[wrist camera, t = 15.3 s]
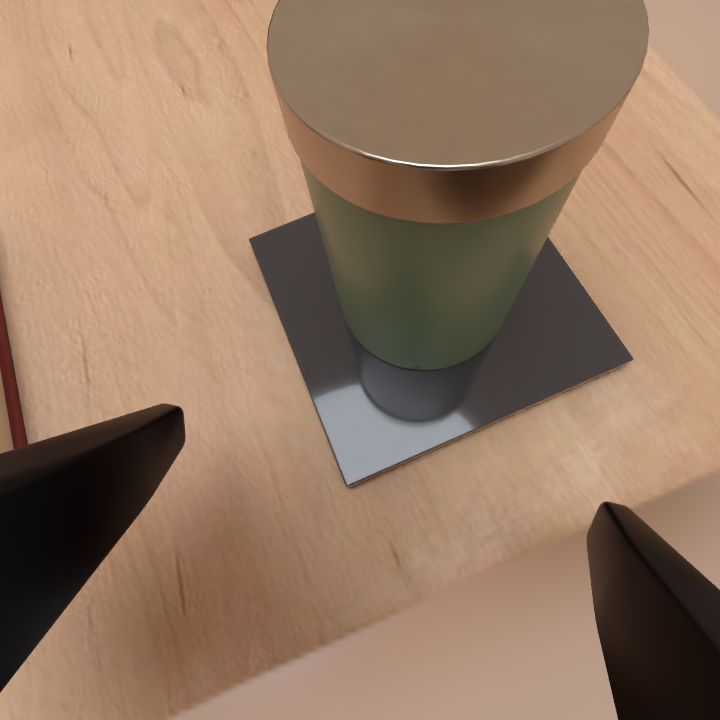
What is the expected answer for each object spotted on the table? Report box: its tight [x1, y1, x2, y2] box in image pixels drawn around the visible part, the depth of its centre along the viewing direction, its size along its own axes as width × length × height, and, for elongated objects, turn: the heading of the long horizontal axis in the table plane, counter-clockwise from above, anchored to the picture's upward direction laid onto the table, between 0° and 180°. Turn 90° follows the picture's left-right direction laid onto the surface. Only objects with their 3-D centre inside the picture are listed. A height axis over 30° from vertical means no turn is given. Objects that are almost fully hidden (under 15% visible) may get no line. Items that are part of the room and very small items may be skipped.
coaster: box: [249, 212, 633, 488], centre depth 17 cm, size 11×11×1 cm
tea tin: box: [267, 0, 649, 370], centre depth 12 cm, size 7×7×10 cm
